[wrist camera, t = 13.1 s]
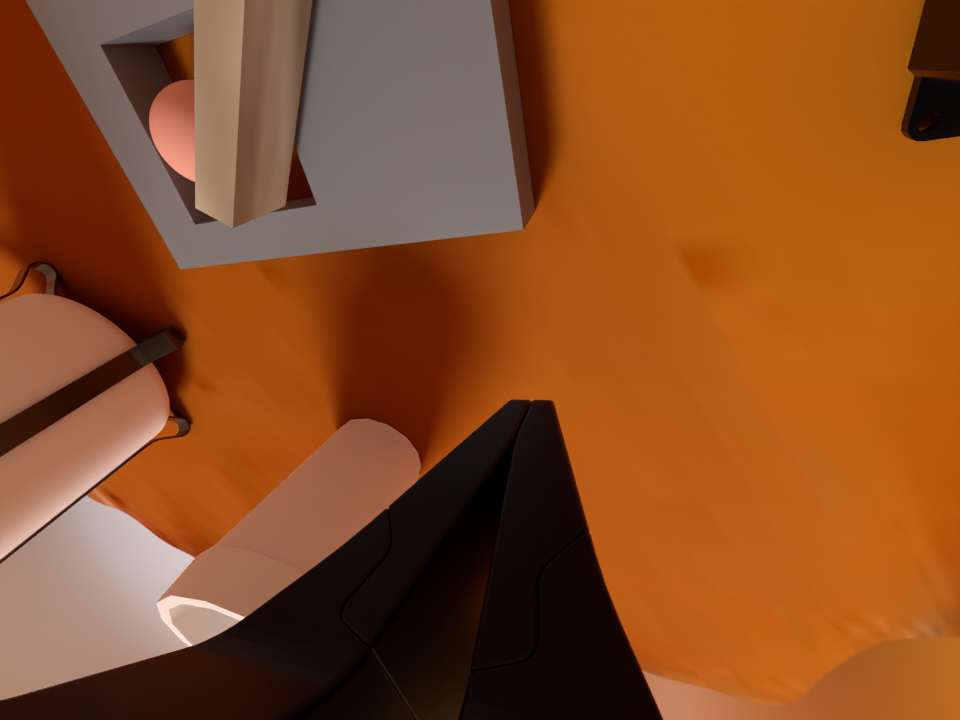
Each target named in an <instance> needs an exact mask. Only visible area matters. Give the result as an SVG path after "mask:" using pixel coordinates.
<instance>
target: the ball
mask: <svg viewBox="0 0 960 720" xmlns="http://www.w3.org/2000/svg"><path fill="white" fill-rule="evenodd" d="M149 126H150V132H151V136H152V139H153V141H154V144H155V146H156V148H157V150H158V151H159V153H160V154H161V156H162V157H163V158H164V160H165V161H166V162H167V163H168V164H169V165H170V166H171V167H172V168H173V169H174V170H175V171H177V172H178V173H179V174H181V175H182V176H184V177H186V178H187V179H189V180H191V181H194V182H195V108H194V80H181V81H177V82H174V83H172V84H170V85H168V86H166V87H165V88H164V89H163V90H161V91H160V93H159V94H158V95H157V96H156V98H155V99H154V101H153V103H152V106H151V109H150V115H149Z"/></svg>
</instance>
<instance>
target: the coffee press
mask: <svg viewBox="0 0 960 720" xmlns="http://www.w3.org/2000/svg"><path fill="white" fill-rule="evenodd" d="M29 269H35V270H38V271H40V272H42V273H43V274H44V275H45V276H46V278H47V284H46V289H45V294H26V295H22V296H18V297H15V298H12V299H9V300H7V301H4V302H1V303H0V563H2V562H3V561H4V560H6V559H7V558H8V557H9V556H11V555H12V554H13V553H14V552H16V551H17V550H18V549H19V548H21V547H22V546H23V545H24V544H26V543H27V542H28V541H29V540H31V539H32V538H33V537H34V536H36V535H37V534H38V533H39V532H41V531H42V530H43V529H44V528H46V527H47V526H48V525H49V524H51V523H52V522H53V521H54V520H56V519H57V518H58V517H59V516H61V515H62V514H63V513H64V512H66V511H67V510H68V509H69V508H71V507H72V506H73V505H74V504H76V503H77V502H78V501H79V500H81V499H82V498H83V497H84V496H86V495H87V494H88V493H89V492H91V491H92V490H93V489H94V488H96V487H97V486H98V485H99V484H101V483H102V482H103V481H104V480H106V479H107V478H108V477H109V476H111V475H112V474H113V473H114V472H116V471H117V470H118V469H119V468H121V467H122V466H123V465H124V464H126V463H127V462H128V461H129V460H131V459H132V458H133V457H135V456H136V455H137V454H138V453H140V452H141V451H142V450H143V449H145V448H146V447H147V446H149V445H150V444H152V443H153V442H155V441H158V440H164V439H172V438H178V437H183V436H185V435H187V434H188V433H189V431H190V428H191V426H190V422H189V421H188V420H187V419H186V418H183V417H173V416H169V409H170V405H169V397H168V393H167V390H166V387H165V384H164V382H163V380H162V378H161V376H160V374H159V373H158V371H157V369H156V368H155V366H154V365H153V363H152V362H153V361H155V360H157V359H159V358H161V357H163V356H165V355H167V354H169V353H170V352H172V351H174V350H176V349H178V348H179V347H181V346H182V345H184V344H185V343H184V342H183V340H182V339H181V338H180V337H179V335H178V334H177V333H176V332H175V330H174V329H173V328H172V327H168V328H166V329H163V330H161V331H159V332H157V333H155V334H153V335H151V336H149V337H147V338H145V339H142V340H140V341H137V342H134V341H133V340H132V339H131V338H130V337H129V336H128V335H127V334H126V333H125V332H123V331H122V330H121V329H120V328H119V327H117V326H116V325H115V324H114V323H112V322H111V321H109V320H108V319H107V318H105V317H104V316H102V315H100V314H99V313H97V312H96V311H94V310H92V309H90V308H88V307H86V306H84V305H82V304H80V303H78V302H75V301H73V300H70V299H67V298H63V297H60V296H57V294H56V289H57V283H58V272H57V270H56V269H55V268H54V267H53V266H51V265H50V264H48V263H45V262H33V263H31V264H29V265H28V266H26V267H24V268H23V269H21V270H20V271H19V273H18V275H17V277H16V279H15V282H14V284H13V286H12V288H11V289H10V291H9V292H8V293H7V294H6V295H3V296H1V297H0V300H2V299H4V298H6V297H8V296H10V295H11V294H13V293H15V292H16V291H17V290H19V288H20V287H21V286H22V284H23V283H24V281H25V279H26V276H27V274H28V272H29ZM167 420H169V421H174V422H176V423H177V424H178V425H179V432H178V433H177V434H176V435H175V436H170V437H163V438H158V439H152V438H153V437H155V436H156V435H157V434H158V433H159V432H160V431H161V430H162V429H163V427H164V426H165V424H166V422H167ZM151 439H152V440H151Z"/></svg>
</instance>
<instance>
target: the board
mask: <svg viewBox="0 0 960 720" xmlns="http://www.w3.org/2000/svg"><path fill="white" fill-rule="evenodd" d="M26 2H27V4H28V6H29V7H30V9H31V11H32V13H33V14H34V16H35V18H36V20H37V21H38V23H39V25H40V27H41V28H42V30H43V32H44V33H45V35H46V37H47V39H48V40H49V42H50V44H51V46H52V47H53V49H54V51H55V53H56V54H57V56H58V58H59V59H60V61H61V63H62V65H63V66H64V68H65V70H66V72H67V73H68V75H69V77H70V79H71V80H72V82H73V84H74V86H75V87H76V89H77V91H78V92H79V94H80V96H81V98H82V99H83V101H84V103H85V105H86V106H87V108H88V110H89V112H90V113H91V115H92V117H93V119H94V120H95V122H96V124H97V125H98V127H99V129H100V131H101V132H102V134H103V136H104V138H105V139H106V141H107V143H108V145H109V146H110V148H111V150H112V151H113V153H114V155H115V157H116V158H117V160H118V162H119V164H120V165H121V167H122V169H123V171H124V172H125V174H126V176H127V178H128V179H129V181H130V183H131V184H132V186H133V188H134V190H135V191H136V193H137V195H138V197H139V198H140V200H141V202H142V204H143V205H144V207H145V209H146V210H147V212H148V214H149V216H150V217H151V219H152V221H153V223H154V224H155V226H156V228H157V230H158V231H159V233H160V235H161V237H162V238H163V240H164V242H165V243H166V245H167V247H168V249H169V250H170V252H171V254H172V256H173V257H174V259H175V261H176V263H177V264H178V266H179V268H180V269H187V268H196V267H205V266H213V265H222V264H231V263H239V262H248V261H257V260H266V259H274V258H283V257H292V256H300V255H309V254H318V253H326V252H335V251H344V250H353V249H361V248H370V247H379V246H387V245H396V244H405V243H413V242H422V241H431V240H440V239H448V238H457V237H466V236H474V235H483V234H492V233H500V232H509V231H518V230H524V228H525V227H526V225H527V223H528V222H529V220H530V219H531V217H532V215H533V214H534V212H535V207H534V199H533V191H532V183H531V175H530V167H529V159H528V151H527V143H526V136H525V128H524V120H523V112H522V104H521V96H520V88H519V80H518V73H517V65H516V57H515V49H514V41H513V33H512V25H511V17H510V9H509V2H508V0H312V8H311V15H310V23H309V31H308V38H307V46H306V53H305V61H304V69H303V76H302V84H301V91H300V99H299V107H298V114H297V122H296V129H295V137H294V145H295V148H296V151H297V153H298V156H299V159H300V161H301V164H302V167H303V169H304V172H305V175H306V177H307V180H308V183H309V185H310V188H311V191H312V193H313V196H314V197H308V198H302V199H296V200H290V201H286V205H285V206H284V207H282V208H279V209H277V210H275V211H272V212H270V213H268V214H265V215H263V216H260V217H258V218H256V219H253V220H251V221H249V222H246V223H244V224H242V225H239V226H237V227H235V228H231V227H230V226H228V225H226V224H224V223H222V222H220V221H218V220H217V219H215V218H213V217H211V216H209V215H207V214H206V213H204V212H202V211H200V210H198V209H196V208H195V182H194V181H191V180H189V179H187V178H186V177H184V176H182V175H181V174H179V173H178V172H177V171H175V170H174V169H173V168H172V167H171V166H170V165H169V164H168V163H167V162H166V161H165V160H164V158H163V157H162V156H161V154H160V153H159V151H158V150H157V148H156V146H155V144H154V141H153V139H152V136H151V132H150V126H149V115H150V109H151V106H152V103H153V101H154V99H155V98H156V96H157V95H158V94H159V93H160V91H161V90H163V89H164V88H165V87H166V86H168V85H170V84H172V83H173V82H172V79H171V77H170V75H169V73H168V71H167V69H166V67H165V65H164V63H163V61H162V58H161V56H160V54H159V52H158V50H157V48H156V46H157V45H160V44H163V43H165V42H168V41H171V40H174V39H176V38H179V37H182V36H185V35H187V34H190V33H193V32H194V0H26Z"/></svg>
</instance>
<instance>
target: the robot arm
mask: <svg viewBox="0 0 960 720" xmlns="http://www.w3.org/2000/svg"><path fill="white" fill-rule="evenodd" d="M908 69H909V70H910V71H911V72H912V73H913V74H914V75H915V77H914V81H913V84H912V88H911V92H910V95H909V99H908V103H907V107H906V110H905V114H904V118H903V121H902V128H901V131H902V133H903V135H904V136H905V137H907V138H909V139H911V140H915V141H929V140H936V139H943V138H950V137H957V136H960V0H925V4H924V8H923V12H922V16H921V19H920V23H919V27H918V31H917V35H916V38H915V42H914V46H913V50H912V54H911V58H910V61H909V65H908ZM931 113H932V114H933V121H932V123H931V124H930V125H929V126H928V127H927V128H926V129H923V130H919V129H918V124H919V122H920V121H921V119H922V118H924V117H925V116H926V115H928V114H931ZM0 720H663V718H662V716H661V713H660V711H659V709H658V706H657V704H656V702H655V699H654V697H653V695H652V693H651V690H650V688H649V686H648V683H647V681H646V679H645V677H644V674H643V672H642V670H641V667H640V665H639V663H638V661H637V658H636V656H635V654H634V651H633V649H632V647H631V645H630V642H629V640H628V638H627V636H626V633H625V631H624V629H623V626H622V624H621V622H620V619H619V617H618V614H617V612H616V609H615V607H614V604H613V602H612V599H611V597H610V594H609V592H608V589H607V587H606V584H605V581H604V578H603V575H602V571H601V568H600V565H599V562H598V559H597V556H596V552H595V549H594V545H593V542H592V538H591V535H590V533H589V528H588V524H587V521H586V517H585V514H584V510H583V506H582V503H581V499H580V496H579V492H578V488H577V485H576V481H575V477H574V474H573V470H572V467H571V463H570V459H569V456H568V452H567V449H566V445H565V441H564V438H563V434H562V431H561V427H560V423H559V420H558V416H557V413H556V409H555V405H554V402H553V401H551V400H534V401H532V402H531V401H530V400H510V401H509V402H507V403H506V404H505V405H504V406H503V407H502V408H501V409H499V410H498V411H497V412H496V413H495V414H494V415H493V416H491V417H490V418H489V419H488V420H487V421H486V422H485V423H483V424H482V425H481V426H480V427H479V428H478V429H476V430H475V431H474V432H473V433H472V434H471V435H470V436H468V437H467V438H466V439H465V440H464V441H463V442H462V443H460V444H459V445H458V446H457V447H456V448H455V449H454V450H452V451H451V452H450V453H449V454H448V455H447V456H446V457H444V458H443V459H442V460H441V461H440V462H439V463H437V464H436V465H435V466H434V467H433V468H432V469H431V470H429V471H428V472H427V473H426V474H425V475H424V476H423V477H421V478H420V479H419V480H418V481H417V482H416V483H415V484H413V485H412V486H411V487H410V488H409V489H408V490H407V491H405V492H404V493H403V494H402V495H401V496H400V497H398V498H397V499H396V500H395V501H394V502H393V503H392V504H390V505H389V509H384V510H383V511H382V512H381V513H380V514H379V515H378V516H376V517H375V518H374V519H373V520H372V521H371V522H370V523H368V524H367V525H366V526H365V527H364V528H362V529H361V530H360V531H359V532H358V533H356V534H355V535H354V536H353V537H352V538H350V539H349V540H348V541H347V542H346V543H344V544H343V545H342V546H340V547H339V548H338V549H336V550H335V551H334V552H333V553H331V554H330V555H329V556H327V557H326V558H325V559H323V560H322V561H321V562H320V563H318V564H317V565H316V566H314V567H313V568H312V569H310V570H309V571H307V572H306V573H305V574H303V575H302V576H301V577H299V578H298V579H297V580H295V581H294V582H293V583H291V584H290V585H288V586H287V587H286V588H284V589H283V590H282V591H280V592H279V593H278V594H276V595H275V596H274V597H272V598H271V599H269V600H268V601H267V602H265V603H264V604H263V605H261V606H260V607H259V608H257V609H256V610H255V611H253V612H252V613H250V614H249V615H248V616H246V617H245V618H244V619H242V620H241V621H239V622H238V623H236V624H235V625H233V626H232V627H230V628H228V629H227V630H225V631H223V632H221V633H220V634H218V635H216V636H214V637H212V638H210V639H208V640H206V641H203V642H201V643H198V644H196V645H193V646H190V647H187V648H184V649H181V650H178V651H174V652H170V653H167V654H163V655H160V656H157V657H153V658H149V659H146V660H142V661H139V662H136V663H132V664H128V665H125V666H121V667H118V668H114V669H111V670H107V671H104V672H101V673H97V674H93V675H90V676H86V677H83V678H79V679H76V680H73V681H69V682H65V683H62V684H58V685H55V686H51V687H48V688H44V689H41V690H37V691H34V692H30V693H27V694H23V695H20V696H17V697H12V698H8V699H4V700H0Z"/></svg>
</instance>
